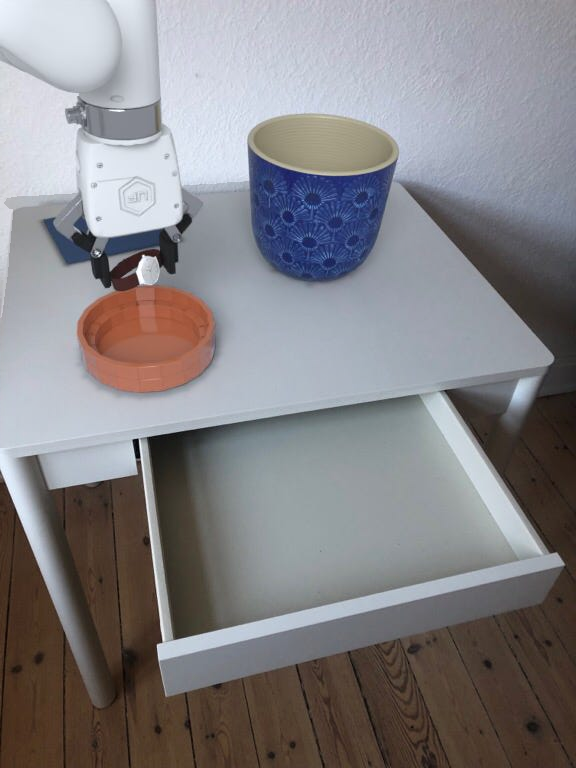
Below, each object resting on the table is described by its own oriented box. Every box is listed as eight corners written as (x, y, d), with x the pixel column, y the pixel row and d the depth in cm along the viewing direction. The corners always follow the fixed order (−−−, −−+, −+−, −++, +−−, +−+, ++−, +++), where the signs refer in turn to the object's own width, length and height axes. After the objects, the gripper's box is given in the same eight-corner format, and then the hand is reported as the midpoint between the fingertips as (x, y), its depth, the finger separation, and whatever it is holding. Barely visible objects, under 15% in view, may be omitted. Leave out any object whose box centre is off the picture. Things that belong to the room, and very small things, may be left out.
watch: (134, 302, 70) (131, 274, 68) (99, 289, 71) (95, 261, 69) (173, 270, 75) (172, 243, 73) (140, 259, 77) (137, 232, 74)
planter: (290, 216, 109) (298, 102, 96) (399, 256, 102) (423, 137, 89) (218, 268, 96) (216, 143, 83) (336, 317, 89) (355, 189, 76)
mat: (67, 264, 94) (66, 262, 94) (43, 221, 103) (43, 219, 103) (180, 240, 101) (180, 237, 101) (150, 202, 110) (149, 199, 110)
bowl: (106, 412, 73) (100, 383, 70) (67, 331, 83) (61, 303, 80) (235, 371, 79) (236, 343, 76) (185, 301, 89) (183, 274, 86)
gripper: (38, 141, 55) (69, 309, 67) (221, 120, 62) (219, 276, 74) (19, 111, 60) (51, 274, 72) (191, 95, 67) (194, 245, 79)
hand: (136, 274), depth 73 cm, fingers closed on watch, 6 cm apart
